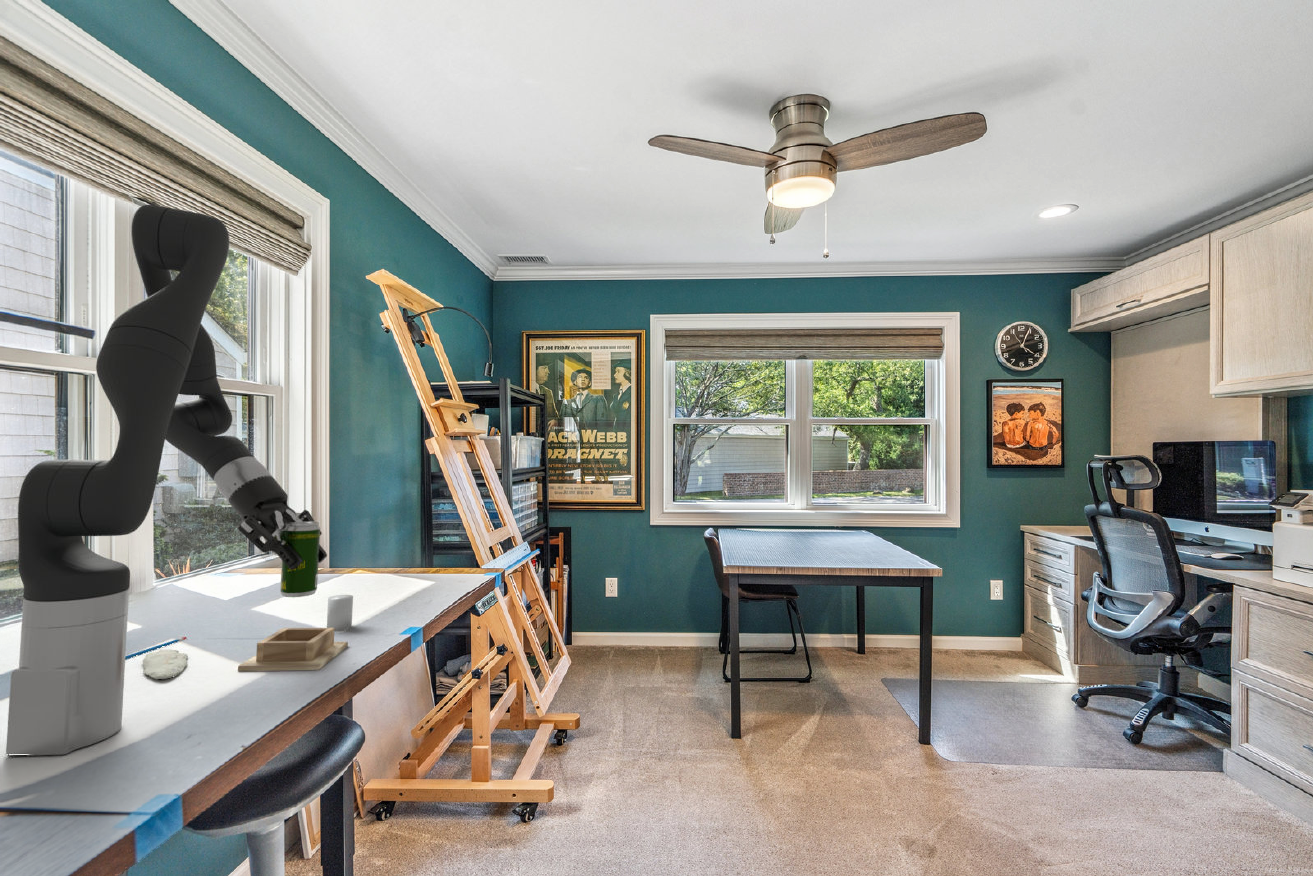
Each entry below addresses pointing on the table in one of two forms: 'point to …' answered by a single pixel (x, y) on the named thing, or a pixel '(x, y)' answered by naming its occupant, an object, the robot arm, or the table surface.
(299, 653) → the socket
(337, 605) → the short post
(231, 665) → the table surface
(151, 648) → the pencil
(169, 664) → the stone tool
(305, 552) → the beer can
